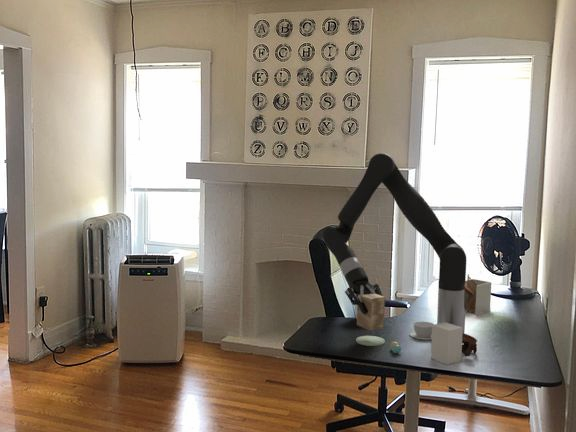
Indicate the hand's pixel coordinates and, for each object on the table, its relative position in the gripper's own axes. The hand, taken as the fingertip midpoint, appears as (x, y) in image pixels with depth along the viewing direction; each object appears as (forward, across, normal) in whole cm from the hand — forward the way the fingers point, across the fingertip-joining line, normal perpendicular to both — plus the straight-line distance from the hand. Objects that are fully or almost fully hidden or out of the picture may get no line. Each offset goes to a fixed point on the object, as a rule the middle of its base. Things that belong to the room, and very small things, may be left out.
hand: (373, 312), depth 217 cm
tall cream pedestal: (+26, +9, -10) cm, 29 cm away
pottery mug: (+26, +18, -10) cm, 33 cm away
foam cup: (-10, +17, +26) cm, 33 cm away
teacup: (+10, +21, +6) cm, 24 cm away
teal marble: (+17, -1, -1) cm, 17 cm away
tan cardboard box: (+3, 0, +5) cm, 6 cm away
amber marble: (+15, +1, +1) cm, 15 cm away
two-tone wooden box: (-1, +66, +17) cm, 69 cm away
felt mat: (+7, 0, +9) cm, 11 cm away
